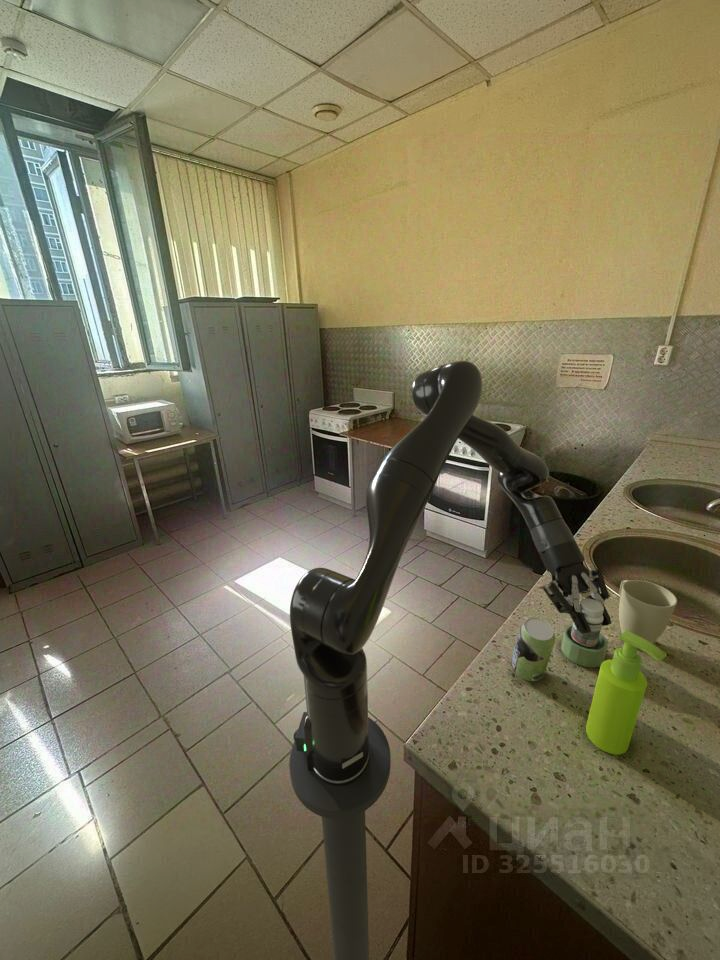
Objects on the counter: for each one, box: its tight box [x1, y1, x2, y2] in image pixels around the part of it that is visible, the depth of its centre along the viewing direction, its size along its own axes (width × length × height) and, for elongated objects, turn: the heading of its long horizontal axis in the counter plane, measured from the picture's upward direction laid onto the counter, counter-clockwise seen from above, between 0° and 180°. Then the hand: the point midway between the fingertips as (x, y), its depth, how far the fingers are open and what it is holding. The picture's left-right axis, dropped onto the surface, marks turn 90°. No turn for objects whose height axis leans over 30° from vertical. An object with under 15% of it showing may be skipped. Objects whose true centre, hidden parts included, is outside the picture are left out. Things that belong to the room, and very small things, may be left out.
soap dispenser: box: [585, 630, 668, 756], centre depth 59 cm, size 6×7×20 cm
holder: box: [560, 623, 608, 668], centre depth 79 cm, size 8×8×4 cm
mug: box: [618, 579, 678, 644], centre depth 82 cm, size 11×10×12 cm
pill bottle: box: [571, 598, 604, 647], centre depth 77 cm, size 5×5×8 cm
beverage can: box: [510, 617, 556, 682], centre depth 73 cm, size 6×7×12 cm
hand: (596, 628), depth 76 cm, fingers closed on pill bottle, 4 cm apart
